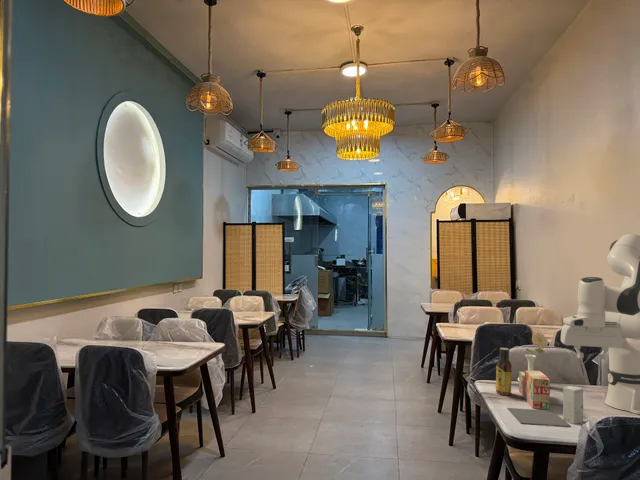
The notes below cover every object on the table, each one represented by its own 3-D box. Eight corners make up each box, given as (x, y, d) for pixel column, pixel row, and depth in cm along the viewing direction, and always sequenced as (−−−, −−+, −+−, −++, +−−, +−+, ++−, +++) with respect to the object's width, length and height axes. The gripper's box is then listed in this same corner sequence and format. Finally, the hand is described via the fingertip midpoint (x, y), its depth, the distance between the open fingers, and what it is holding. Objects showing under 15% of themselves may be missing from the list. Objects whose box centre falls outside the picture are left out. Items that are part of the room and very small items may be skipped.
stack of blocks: (518, 392, 189) (518, 364, 189) (533, 393, 188) (533, 365, 188) (533, 408, 168) (533, 377, 168) (550, 410, 167) (550, 379, 167)
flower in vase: (520, 387, 196) (520, 333, 197) (514, 380, 207) (515, 329, 208) (551, 390, 193) (551, 335, 194) (543, 382, 204) (544, 330, 205)
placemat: (552, 411, 165) (552, 410, 165) (571, 427, 150) (571, 425, 150) (507, 408, 167) (507, 407, 167) (521, 423, 152) (521, 422, 152)
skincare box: (574, 424, 152) (574, 390, 153) (562, 420, 156) (562, 387, 157) (584, 421, 155) (584, 388, 156) (571, 417, 159) (572, 385, 160)
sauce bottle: (494, 390, 189) (494, 346, 190) (509, 392, 188) (509, 347, 189) (497, 395, 183) (498, 349, 184) (513, 396, 182) (513, 350, 183)
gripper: (616, 320, 159) (616, 358, 158) (558, 318, 161) (558, 354, 161) (626, 323, 152) (626, 362, 152) (566, 320, 155) (566, 358, 154)
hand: (591, 358), depth 156 cm, fingers open, 6 cm apart
